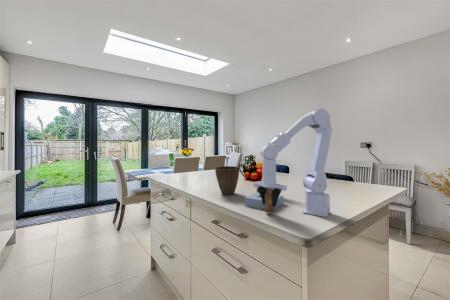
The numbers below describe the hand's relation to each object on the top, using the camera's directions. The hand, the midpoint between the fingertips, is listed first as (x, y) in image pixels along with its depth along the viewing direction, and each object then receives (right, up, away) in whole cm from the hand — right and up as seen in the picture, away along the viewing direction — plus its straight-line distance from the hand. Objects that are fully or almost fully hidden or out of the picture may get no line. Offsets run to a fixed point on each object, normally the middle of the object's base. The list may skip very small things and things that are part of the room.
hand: (269, 205), depth 88 cm
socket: (0, -3, +14) cm, 14 cm away
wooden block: (+4, -3, +32) cm, 32 cm away
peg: (0, -3, 0) cm, 3 cm away
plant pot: (-18, -3, +36) cm, 41 cm away
